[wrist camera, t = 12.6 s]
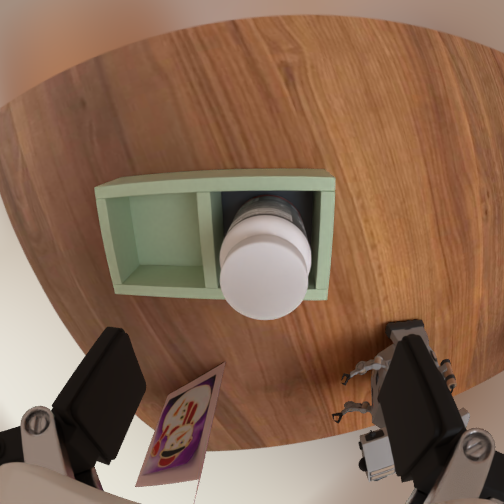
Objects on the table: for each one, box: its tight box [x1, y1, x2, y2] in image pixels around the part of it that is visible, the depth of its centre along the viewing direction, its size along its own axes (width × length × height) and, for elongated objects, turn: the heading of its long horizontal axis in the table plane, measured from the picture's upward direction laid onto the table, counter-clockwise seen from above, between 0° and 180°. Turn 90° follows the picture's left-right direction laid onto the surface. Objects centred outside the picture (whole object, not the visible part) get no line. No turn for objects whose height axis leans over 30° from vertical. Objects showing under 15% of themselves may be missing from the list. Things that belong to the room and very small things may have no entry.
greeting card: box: [135, 362, 225, 496], centre depth 27 cm, size 11×7×15 cm, turn 133°
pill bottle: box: [220, 195, 311, 320], centre depth 20 cm, size 6×6×10 cm
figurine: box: [332, 319, 470, 482], centre depth 23 cm, size 9×12×15 cm
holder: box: [94, 168, 336, 300], centre depth 23 cm, size 10×18×5 cm, turn 92°
